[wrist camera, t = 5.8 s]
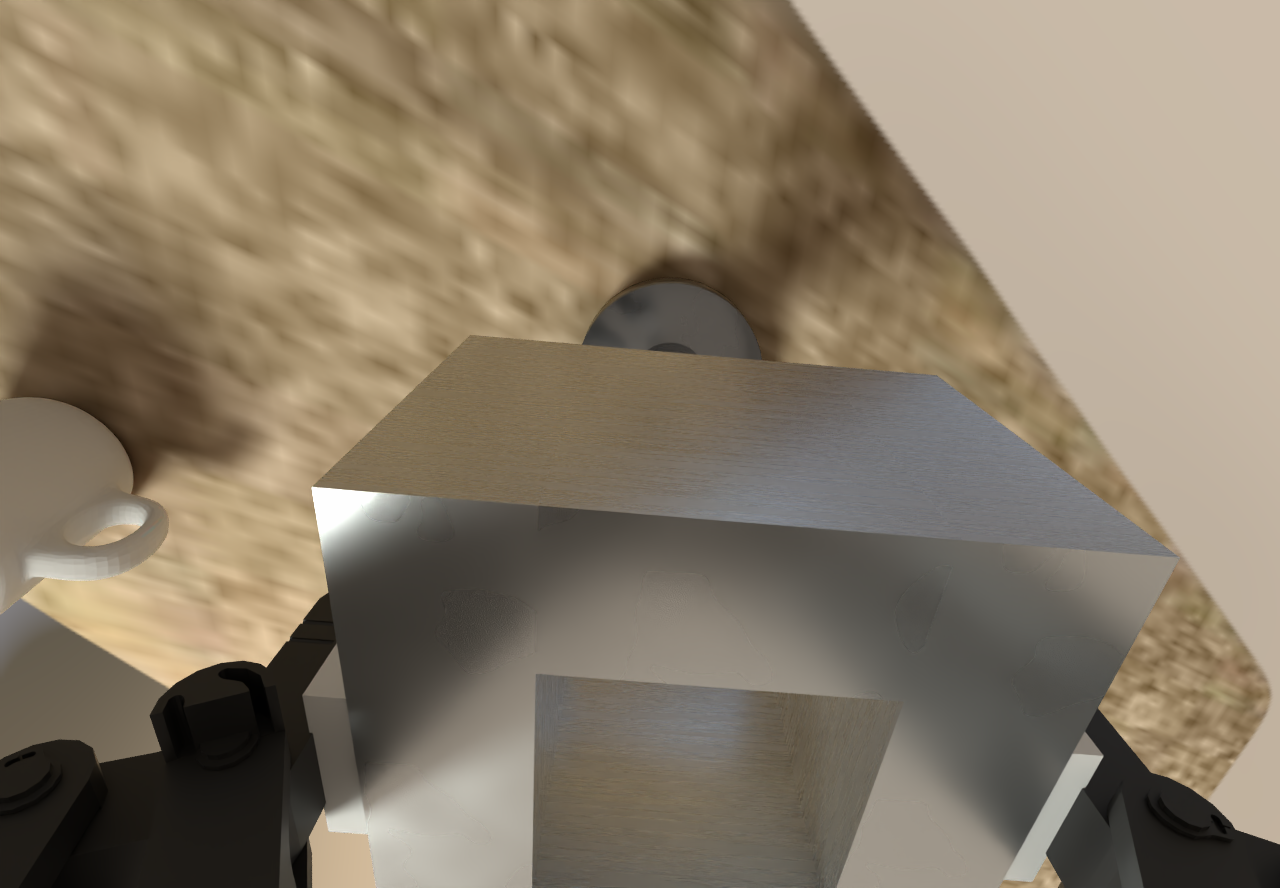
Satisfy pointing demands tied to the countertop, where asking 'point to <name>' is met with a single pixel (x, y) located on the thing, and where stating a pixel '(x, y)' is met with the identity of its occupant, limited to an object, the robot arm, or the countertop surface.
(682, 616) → the square through-hole block
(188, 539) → the countertop surface
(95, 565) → the cup
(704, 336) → the cylinder
